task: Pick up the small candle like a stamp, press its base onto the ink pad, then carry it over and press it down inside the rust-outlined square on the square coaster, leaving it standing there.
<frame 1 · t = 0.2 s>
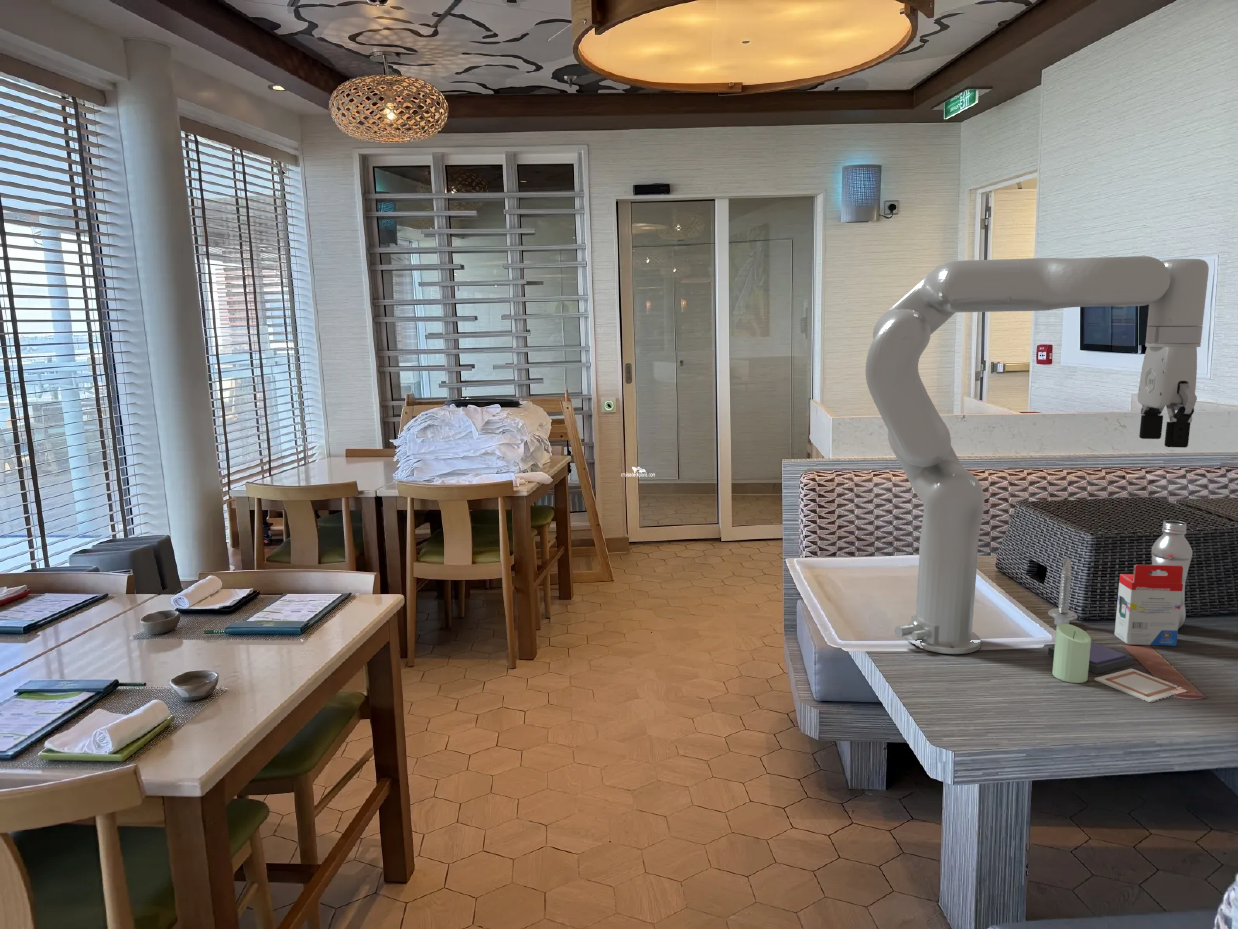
hand: (1162, 442, 139), 37 cm above the table, tool pointing down, fingers open, 9 cm apart
candle: (1069, 678, 136), on the table
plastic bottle: (1163, 627, 158), on the table
ink box: (1144, 641, 151), on the table
screw: (1061, 625, 160), on the table
square coaster: (1140, 685, 133), on the table
ink pad: (1089, 659, 143), on the table
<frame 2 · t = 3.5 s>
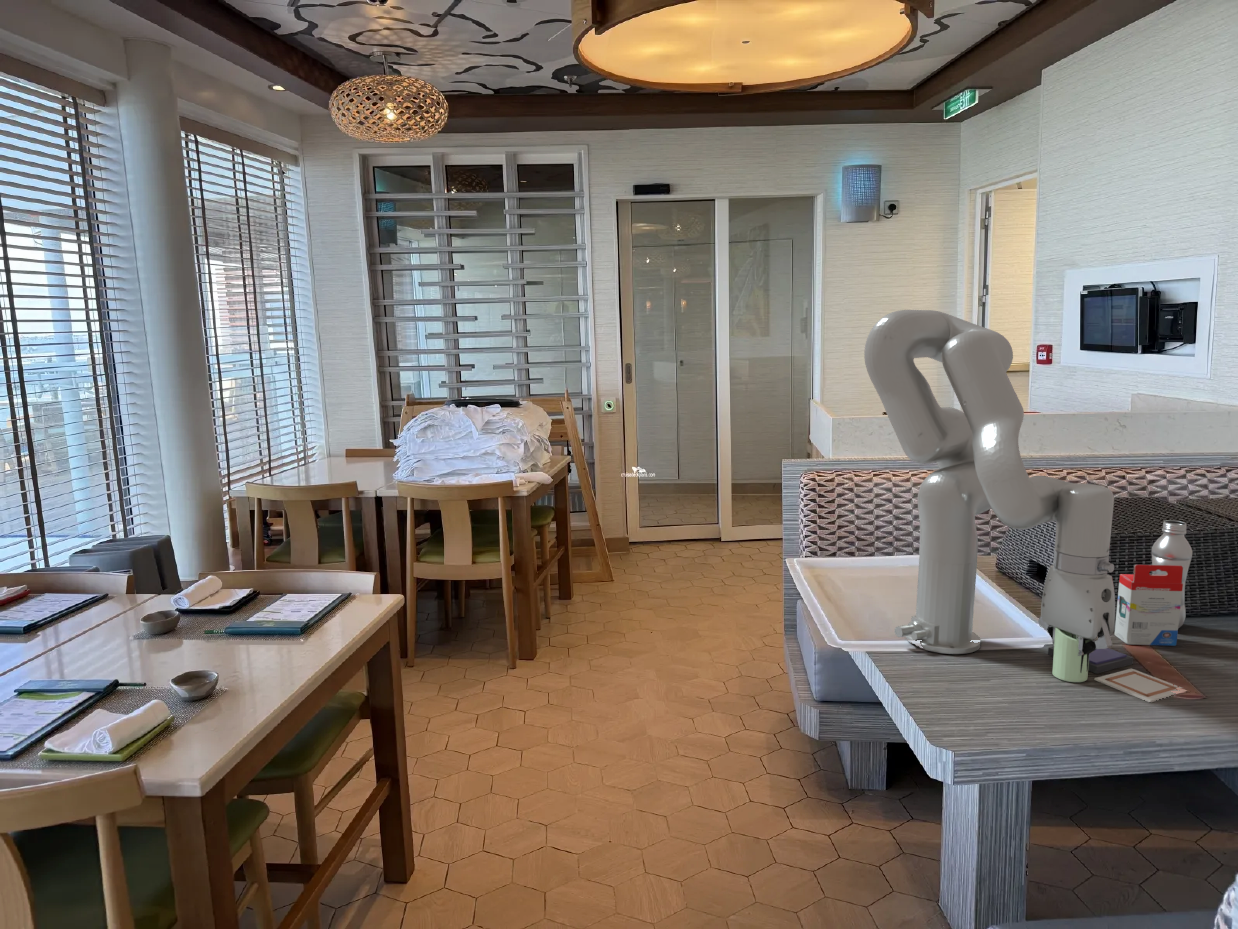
hand: (1070, 672, 136), 1 cm above the table, tool pointing down, fingers closed
candle: (1069, 677, 136), on the table, touching gripper
everything else where it was.
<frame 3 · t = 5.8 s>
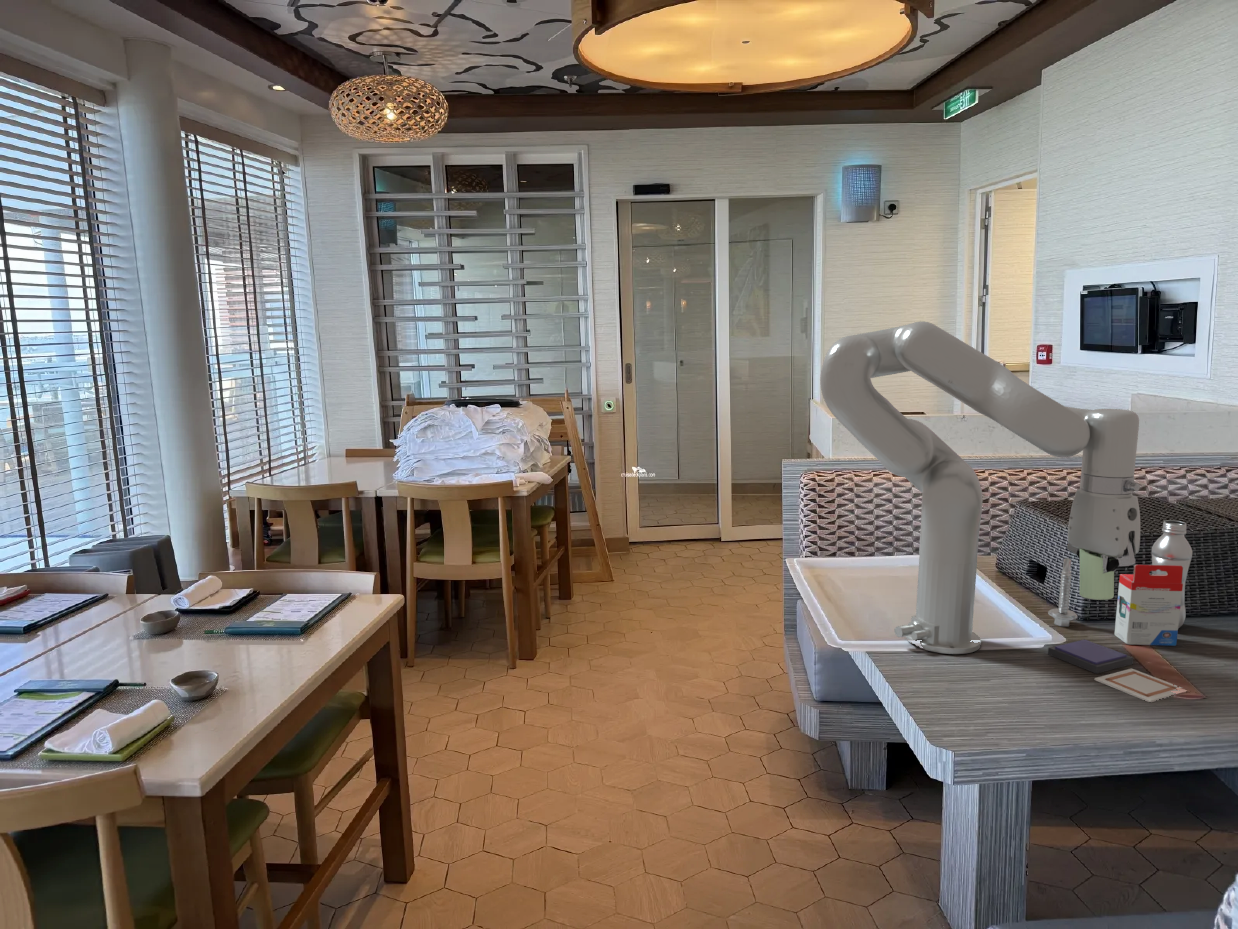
hand: (1096, 592, 141), 12 cm above the table, tool pointing down, fingers closed on candle
candle: (1096, 597, 141), point 11 cm above the table, touching gripper
everything else where it was.
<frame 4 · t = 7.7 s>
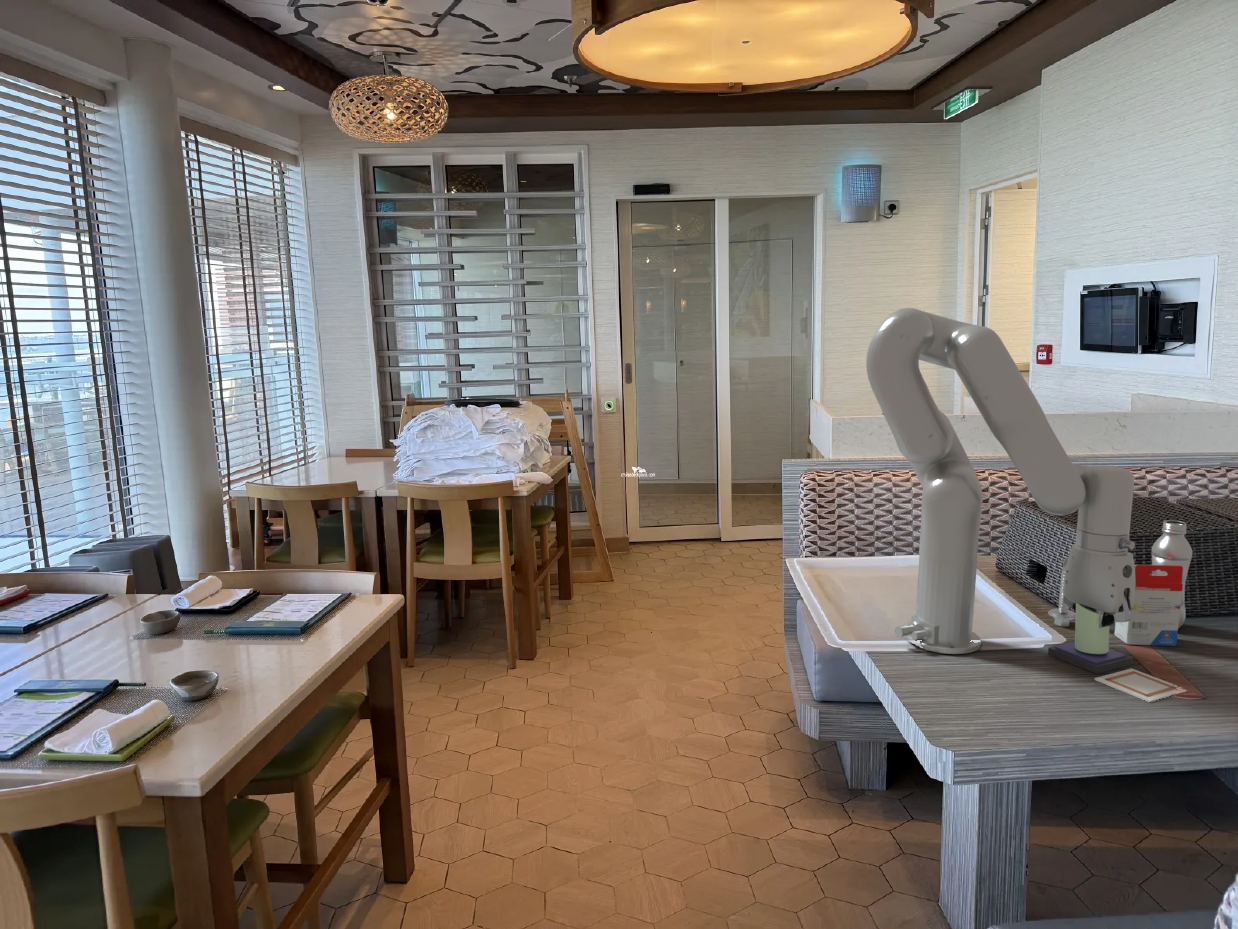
hand: (1092, 646, 143), 2 cm above the table, tool pointing down, fingers closed on candle
candle: (1091, 651, 143), point 1 cm above the table, touching gripper, ink pad
everything else where it was.
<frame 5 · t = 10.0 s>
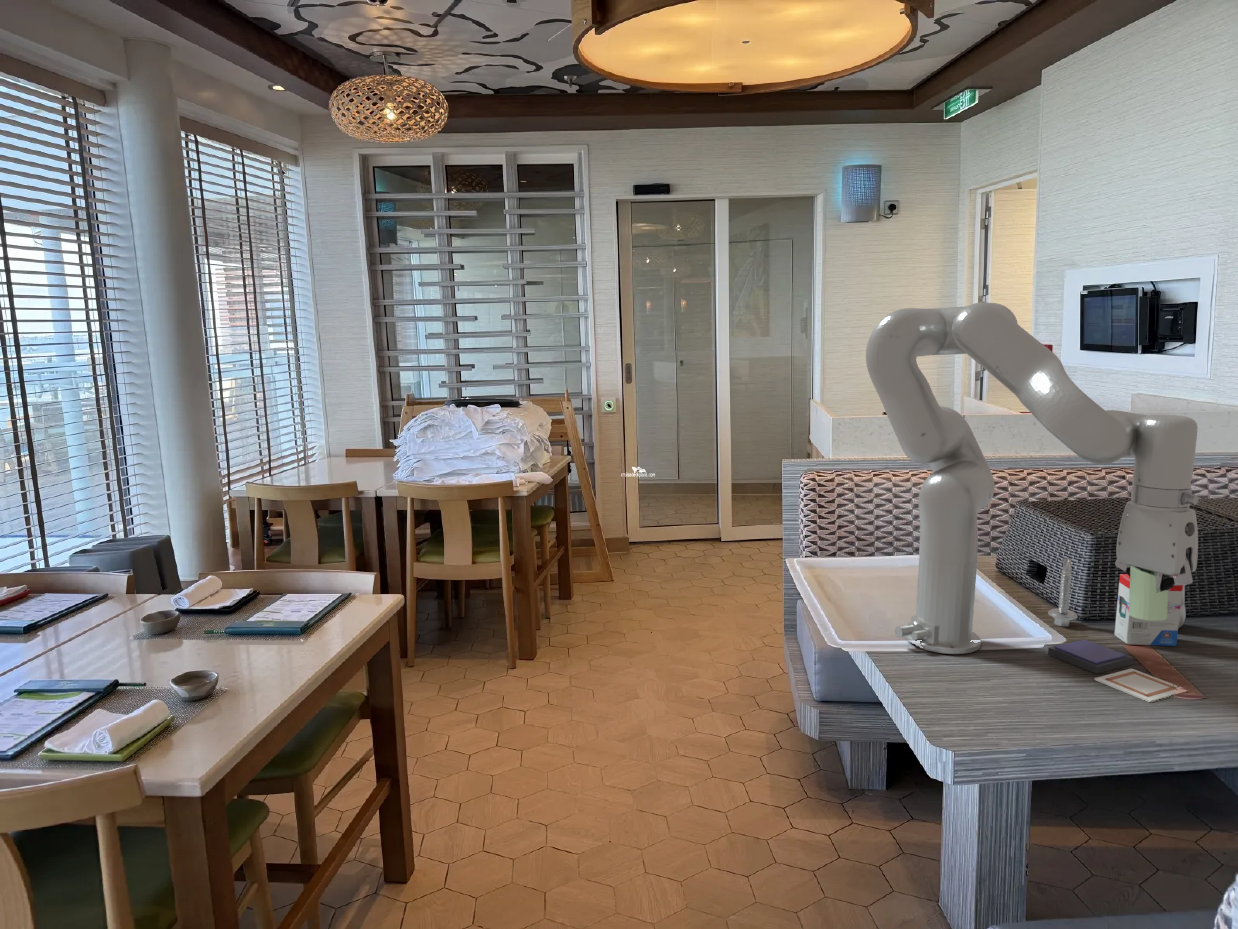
hand: (1148, 613, 131), 12 cm above the table, tool pointing down, fingers closed on candle
candle: (1147, 618, 131), point 11 cm above the table, touching gripper
everything else where it was.
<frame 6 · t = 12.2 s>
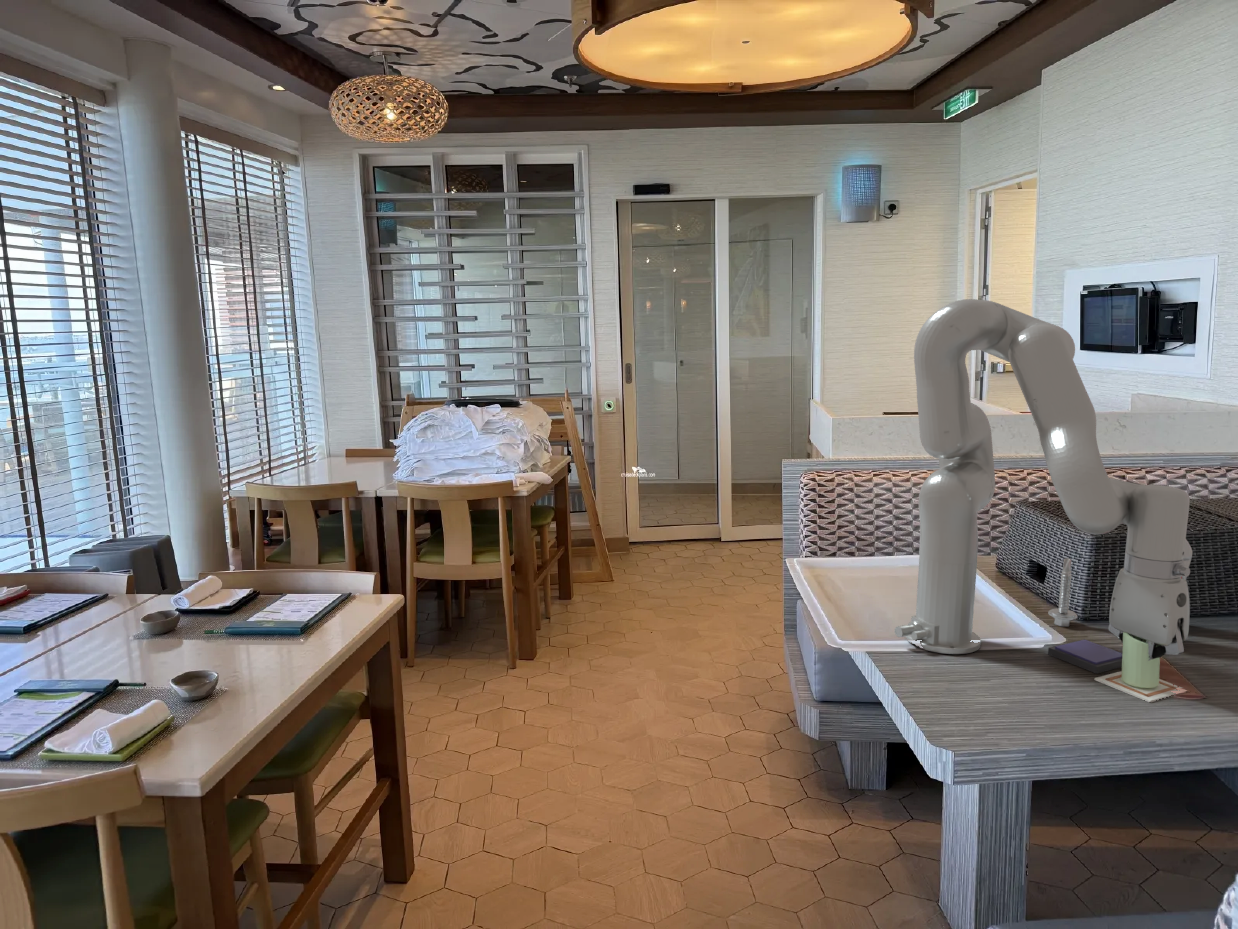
hand: (1140, 679, 133), 1 cm above the table, tool pointing down, fingers closed on candle
candle: (1139, 684, 133), resting on square coaster, touching gripper
everything else where it was.
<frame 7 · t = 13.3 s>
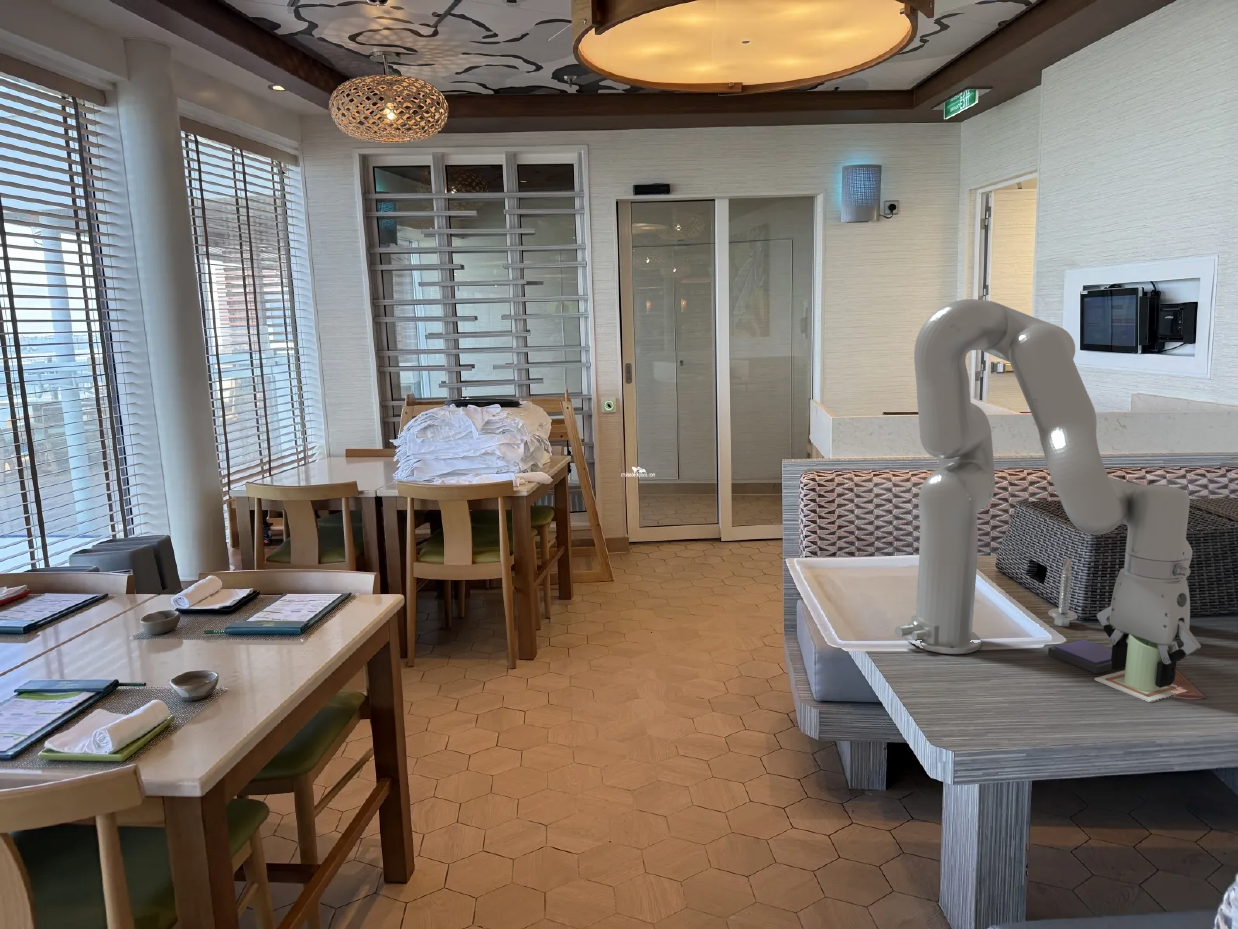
hand: (1141, 675, 133), 2 cm above the table, tool pointing down, fingers open, 6 cm apart
candle: (1142, 686, 132), resting on square coaster
everything else where it was.
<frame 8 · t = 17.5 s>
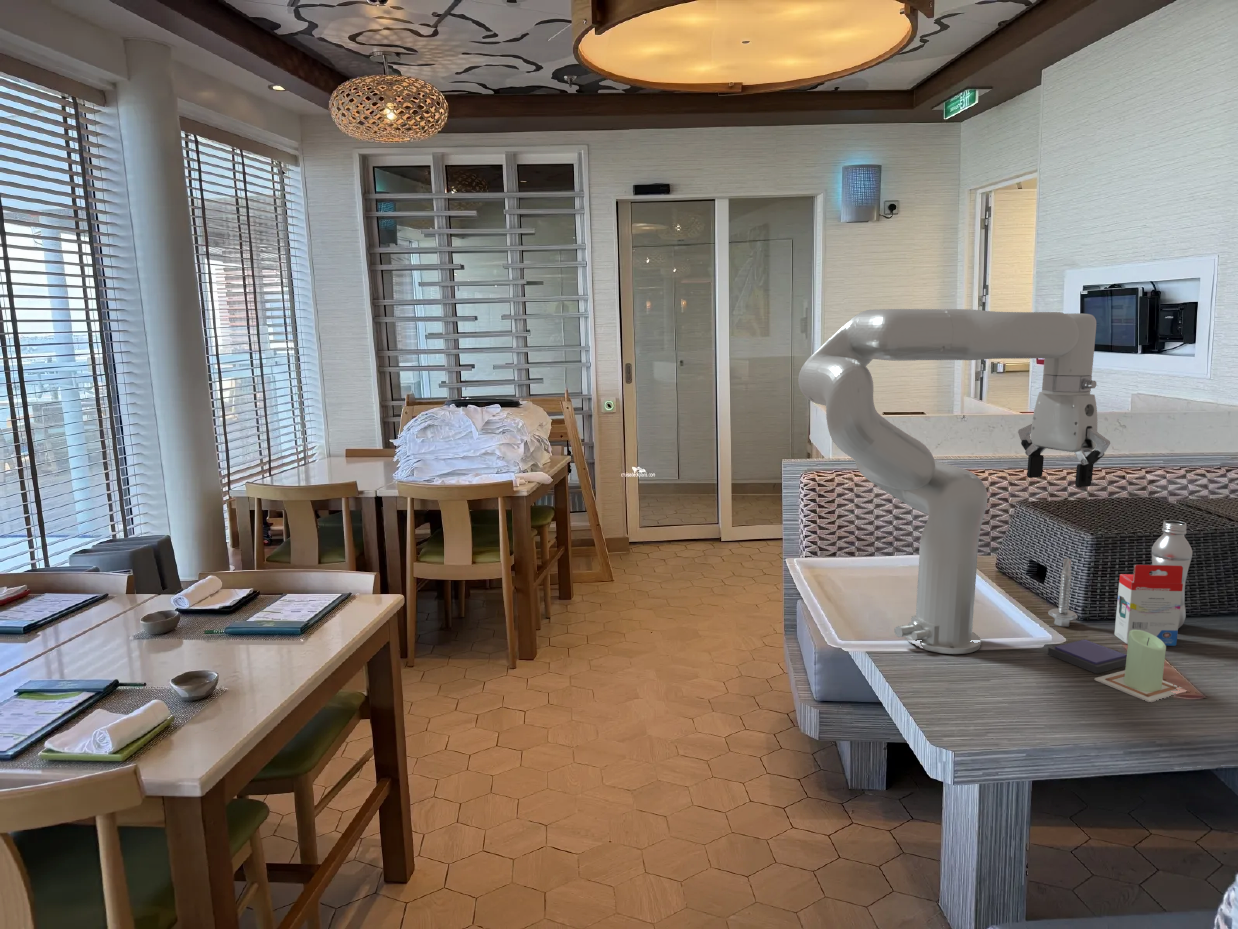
hand: (1058, 481, 150), 28 cm above the table, tool pointing down, fingers open, 9 cm apart
nothing on the table moved.
at the end: candle inside the target area on the square coaster (0.4 cm from its centre), point 0.1 cm above the square coaster's base; candle tilted 0°; the gripper is holding nothing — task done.
